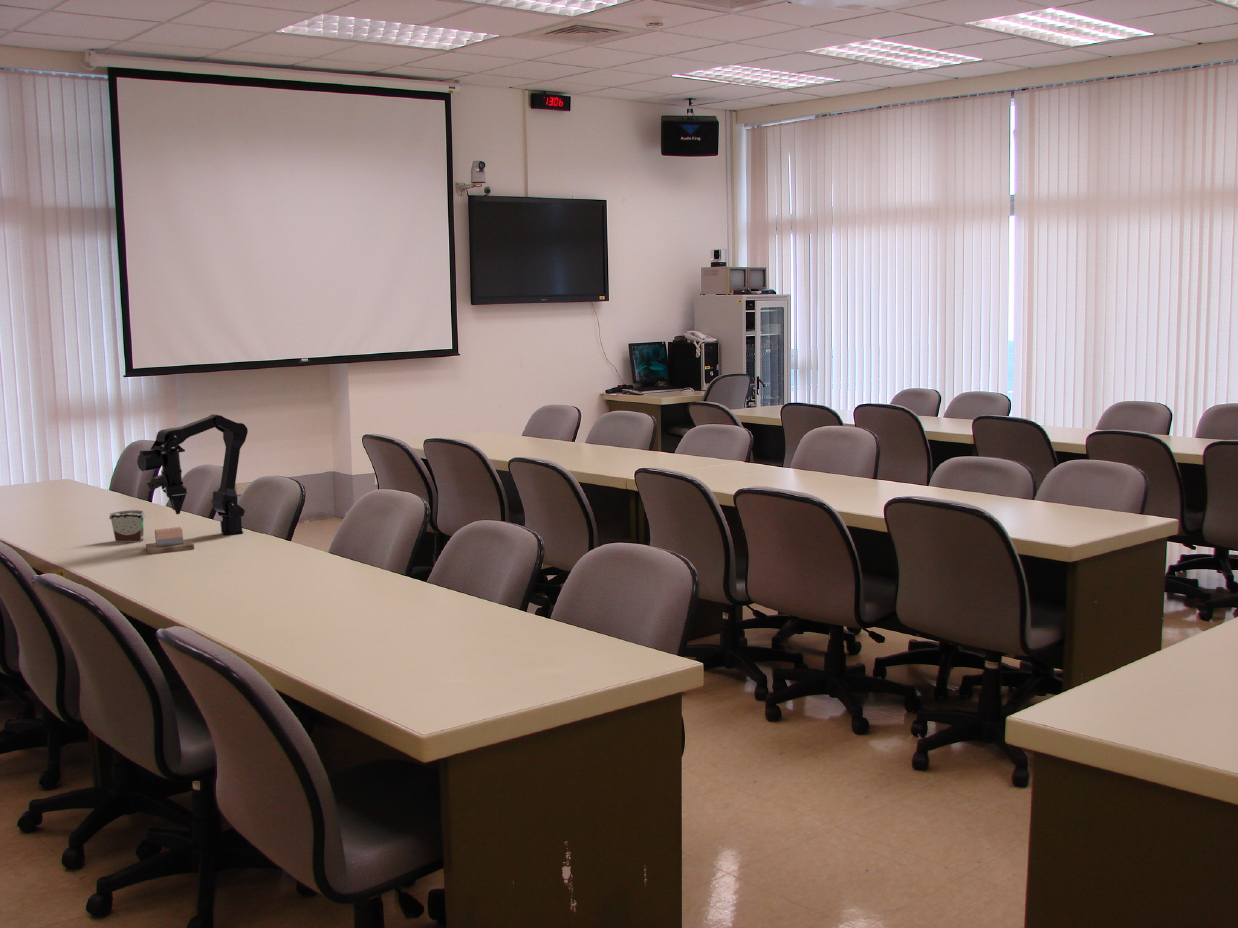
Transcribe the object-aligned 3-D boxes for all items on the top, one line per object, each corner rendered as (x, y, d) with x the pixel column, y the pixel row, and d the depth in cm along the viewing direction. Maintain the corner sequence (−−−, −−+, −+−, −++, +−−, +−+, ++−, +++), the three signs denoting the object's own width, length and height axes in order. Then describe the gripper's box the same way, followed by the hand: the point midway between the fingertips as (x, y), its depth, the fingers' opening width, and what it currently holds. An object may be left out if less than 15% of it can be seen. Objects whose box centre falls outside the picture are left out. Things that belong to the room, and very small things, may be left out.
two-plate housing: (155, 544, 364) (154, 529, 363) (181, 541, 368) (180, 526, 367) (157, 547, 359) (156, 532, 359) (183, 544, 363) (182, 529, 363)
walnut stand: (190, 543, 372) (190, 538, 372) (194, 549, 362) (193, 544, 362) (146, 548, 365) (145, 543, 365) (148, 554, 356) (148, 549, 356)
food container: (154, 537, 383) (151, 509, 382) (145, 541, 377) (142, 513, 376) (121, 538, 385) (118, 510, 383) (111, 541, 379) (108, 513, 377)
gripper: (143, 466, 372) (148, 510, 374) (148, 472, 356) (153, 519, 358) (177, 462, 377) (182, 506, 379) (184, 469, 361) (189, 515, 363)
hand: (176, 512), depth 370 cm, fingers open, 9 cm apart
